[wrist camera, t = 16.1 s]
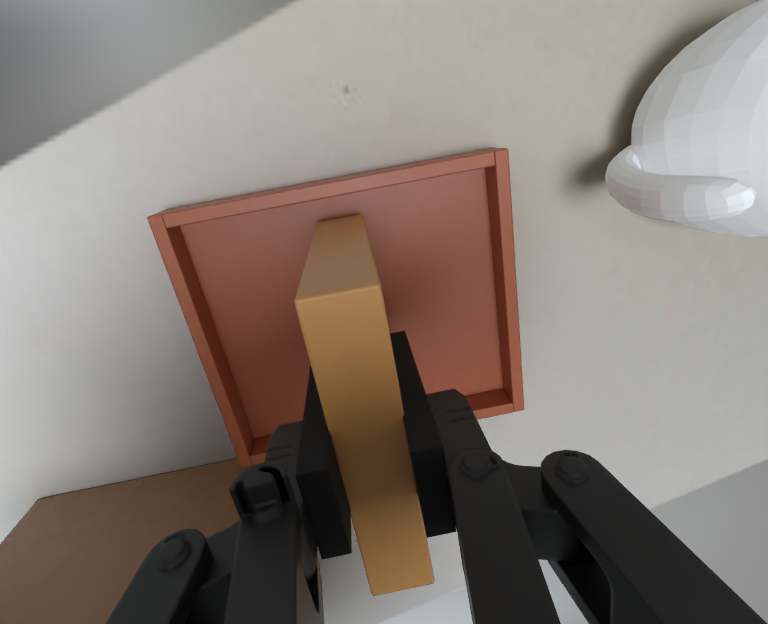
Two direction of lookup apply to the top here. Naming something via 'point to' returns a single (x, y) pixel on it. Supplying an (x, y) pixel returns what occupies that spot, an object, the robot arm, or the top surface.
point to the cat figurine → (704, 134)
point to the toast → (363, 402)
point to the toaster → (104, 541)
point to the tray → (396, 274)
